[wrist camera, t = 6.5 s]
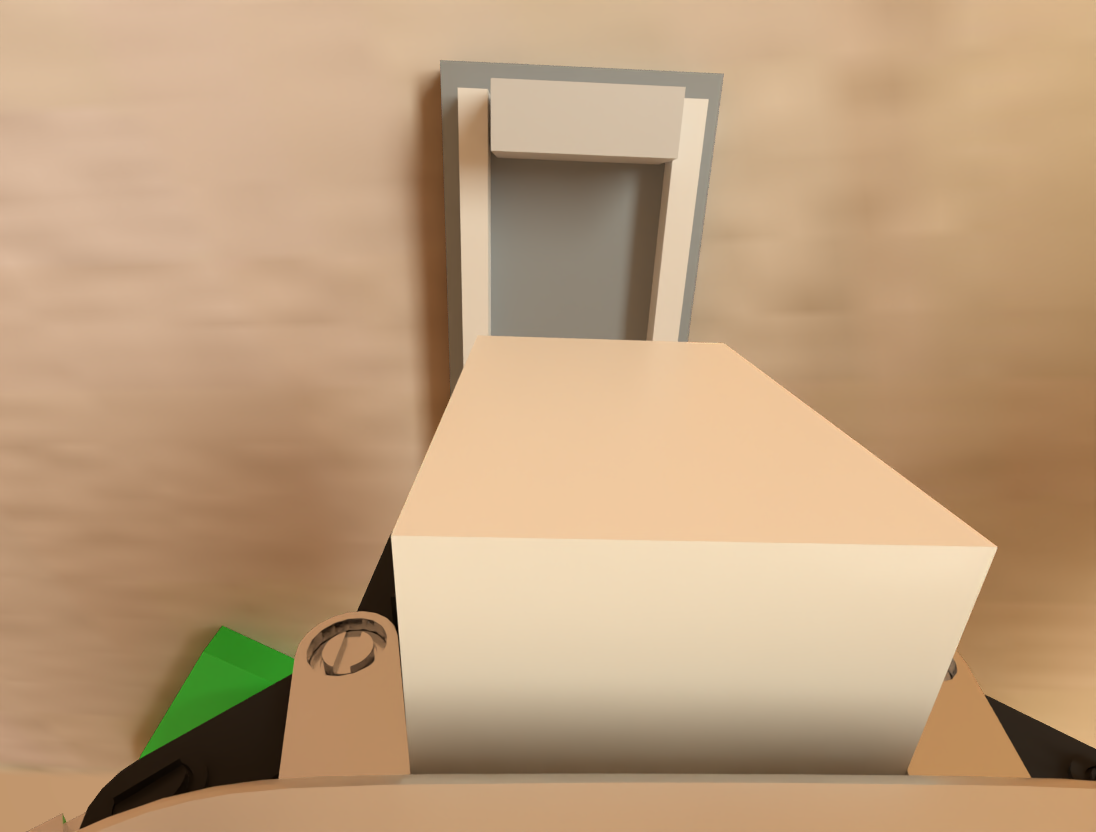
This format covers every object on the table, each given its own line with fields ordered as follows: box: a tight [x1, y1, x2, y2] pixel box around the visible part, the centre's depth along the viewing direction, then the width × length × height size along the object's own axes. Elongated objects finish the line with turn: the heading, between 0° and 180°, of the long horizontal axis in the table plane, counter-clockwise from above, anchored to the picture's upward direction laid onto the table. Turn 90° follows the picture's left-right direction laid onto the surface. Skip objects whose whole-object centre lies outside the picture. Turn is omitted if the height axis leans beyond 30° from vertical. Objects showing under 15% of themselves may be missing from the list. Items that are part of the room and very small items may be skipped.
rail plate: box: [440, 60, 724, 398], centre depth 22 cm, size 10×22×4 cm, turn 178°
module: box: [391, 335, 998, 775], centre depth 9 cm, size 5×8×7 cm, turn 178°
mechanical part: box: [139, 626, 294, 759], centre depth 28 cm, size 12×6×8 cm, turn 145°
